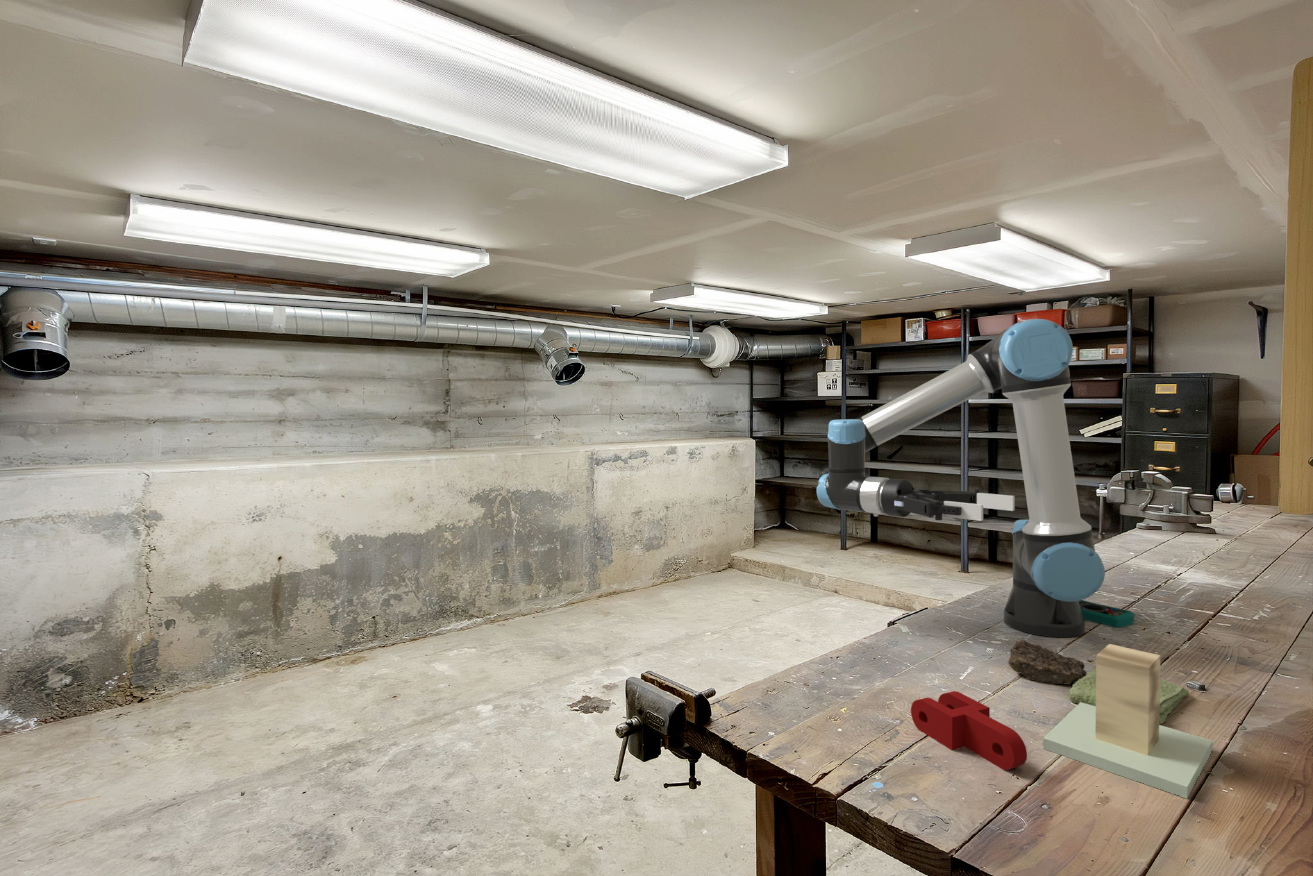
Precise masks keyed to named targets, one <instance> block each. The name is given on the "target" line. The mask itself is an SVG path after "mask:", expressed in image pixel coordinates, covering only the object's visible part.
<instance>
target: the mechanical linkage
mask: <svg viewBox="0 0 1313 876" xmlns="http://www.w3.org/2000/svg"><path fill="white" fill-rule="evenodd" d="M990 709H991V707H989V706H987V705H985V704H983V703H982V702H980V701H977V700H976V699H973V698H971V697H969V696H967V695H966V694H963V693H961V692H960V691H956V690H953V691H948V692H945V693H942V694H940V695H939V697H938V700H935V699H933V698H931V697H923V698H919V699H916V700H913V702H912V704H911V707H910V714H911V715H910V716H911V719H912V721H913V724H914V725H915V728H916V729H917V730H918V731H919V732H921V733H923V734H924V735H926V736H928V737H929V738H930V739H933V740H934V741H936V742H938V743H939V744H941V745H942V746H944V747H946V748H947V749H949V750H950V751H955V750H959V749H963V748H965V749H968V750H969V751H971V752H972V753H974V754H976V755H977V756H979V757H981V758H983V759H985V760H986V761H988V762H989V763H991V764H992V765H994V766H996V767H998V768H999V769H1001V770H1003V771H1008V770H1011V769H1014V768H1018V767H1021V766H1023V765H1024V764H1025V763H1026V762H1027V760H1028V751H1027V747H1026V745H1025V742H1024V740H1023V739H1022V737H1021V736H1020V735H1019V734H1018V732H1017V731H1016V730H1014V729H1013V728H1011V727H1010V726H1008V725H1006V724H1004V723H1002V722H999V721H997V720H996V719H993V718H992V717H991V716H990V712H991V711H990Z"/></svg>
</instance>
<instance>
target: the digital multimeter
mask: <svg viewBox="0 0 1313 876" xmlns="http://www.w3.org/2000/svg"><path fill="white" fill-rule="evenodd" d="M1078 603H1079V605H1080V608H1081V611H1082V614H1083V617H1084V619H1085V621H1091V622H1092V623H1093V622H1094V623H1097V624H1101V625H1105V626H1109V627H1113V628H1116V629H1117V628H1119V629H1120V628H1123V627H1128V626H1131V625H1132V624H1133V623H1134V622H1135V613H1134V612H1132V611H1131V610H1128V609H1123V608H1117V607H1114V606H1109V605H1105V604H1100V603H1097V602H1092V601H1087V600H1086V599H1083V600H1080V601H1078Z"/></svg>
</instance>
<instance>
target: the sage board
mask: <svg viewBox="0 0 1313 876" xmlns="http://www.w3.org/2000/svg"><path fill="white" fill-rule="evenodd" d="M1095 730H1096V706H1092V705H1089V704H1085V703H1082V702H1080V703H1079V704H1077V705H1076V706H1075V707H1074V708H1073V709H1071V711H1070V712H1069V713H1068V714H1067V715H1065V717H1063V718H1062V719H1061V720H1060V722H1059V723H1057V724H1056V725H1055V727H1053V728H1052V729H1051V730H1050V731H1049V732H1048V733H1047V734H1046V735H1045V736H1044V737H1043V738H1042V748H1043V749H1044V750H1046V751H1049V752H1052V753H1055V754H1058V755H1061V756H1063V757H1067V758H1069V759H1072V760H1075V761H1077V762H1081V763H1083V764H1086V765H1089V766H1092V767H1095V768H1097V769H1100V770H1103V771H1107V772H1110V773H1112V774H1115V775H1117V776H1120V777H1123V778H1126V779H1129V780H1131V781H1135V782H1137V781H1138V783H1140V782H1141V783H1140V784H1143V783H1144V785H1146V786H1149V785H1150V786H1149V787H1152V788H1154V787H1155V789H1157V788H1158V789H1157V790H1160V789H1162V790H1161V791H1163V790H1164V792H1166V791H1167V792H1166V793H1169V792H1170V793H1169V794H1172V795H1174V794H1176V795H1175V796H1177V795H1179V796H1178V797H1180V798H1183V799H1185V800H1187V799H1188V797H1189V796H1190V793H1191V792H1192V791H1193V788H1194V787H1193V786H1195V785H1196V783H1197V781H1198V779H1199V777H1200V776H1201V774H1202V772H1203V770H1204V768H1205V766H1206V764H1207V763H1208V761H1207V760H1209V759H1208V757H1209V755H1210V753H1211V751H1212V750H1214V745H1213V744H1214V740H1212V739H1208V738H1206V737H1202V736H1198V735H1195V734H1191V733H1188V732H1184V731H1182V730H1178V729H1174V728H1171V727H1167V726H1166V725H1165V726H1164V725H1162V724H1160V725H1159V740H1158V742H1157V743H1156V744H1155V746H1154V747H1153V749H1152V750H1151V752H1150V753H1149V754H1148V755H1145V754H1141V753H1138V752H1135V751H1132V750H1129V749H1126V748H1123V747H1120V746H1117V745H1114V744H1110V743H1107V742H1104V741H1101V740H1098V739H1095ZM1212 752H1213V751H1212ZM1211 754H1212V753H1211ZM1210 756H1211V755H1210ZM1209 758H1210V757H1209ZM1205 763H1206V764H1205ZM1204 765H1205V766H1204ZM1203 767H1204V768H1203ZM1202 769H1203V770H1202ZM1201 771H1202V772H1201ZM1200 773H1201V774H1200ZM1198 776H1199V777H1198ZM1197 778H1198V779H1197ZM1196 780H1197V781H1196ZM1195 782H1196V783H1195ZM1194 784H1195V785H1194Z"/></svg>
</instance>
